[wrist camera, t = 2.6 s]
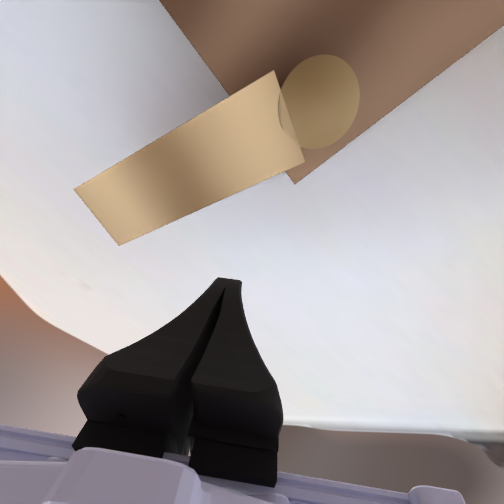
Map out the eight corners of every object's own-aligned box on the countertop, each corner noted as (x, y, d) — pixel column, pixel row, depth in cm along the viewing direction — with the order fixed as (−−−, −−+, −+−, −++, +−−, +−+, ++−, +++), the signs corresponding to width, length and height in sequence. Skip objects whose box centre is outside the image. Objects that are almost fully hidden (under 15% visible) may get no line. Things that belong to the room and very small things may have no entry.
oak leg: (327, 53, 10) (346, 26, 7) (347, 129, 11) (369, 133, 8) (115, 175, 13) (73, 189, 11) (148, 222, 15) (118, 246, 12)
